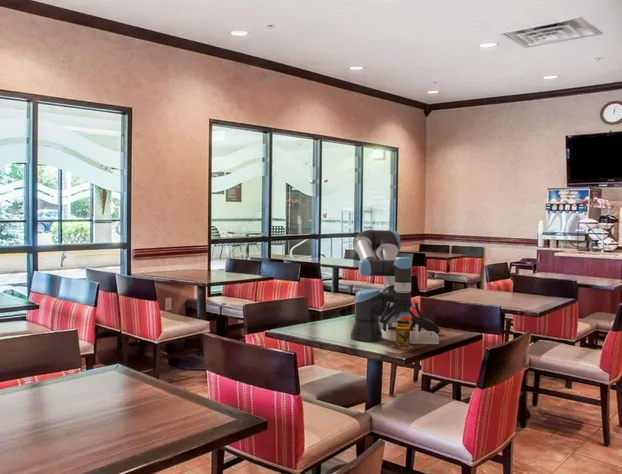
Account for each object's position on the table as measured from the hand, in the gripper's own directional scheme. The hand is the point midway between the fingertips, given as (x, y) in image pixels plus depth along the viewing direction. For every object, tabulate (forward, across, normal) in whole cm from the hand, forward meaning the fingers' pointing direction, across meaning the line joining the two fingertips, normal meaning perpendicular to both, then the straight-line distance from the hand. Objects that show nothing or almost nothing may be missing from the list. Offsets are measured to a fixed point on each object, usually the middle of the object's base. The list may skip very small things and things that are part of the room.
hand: (401, 338), depth 265 cm
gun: (+4, +17, +29) cm, 34 cm away
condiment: (+4, 0, 0) cm, 4 cm away
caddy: (+4, +12, +12) cm, 18 cm away
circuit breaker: (+3, 0, +44) cm, 44 cm away
